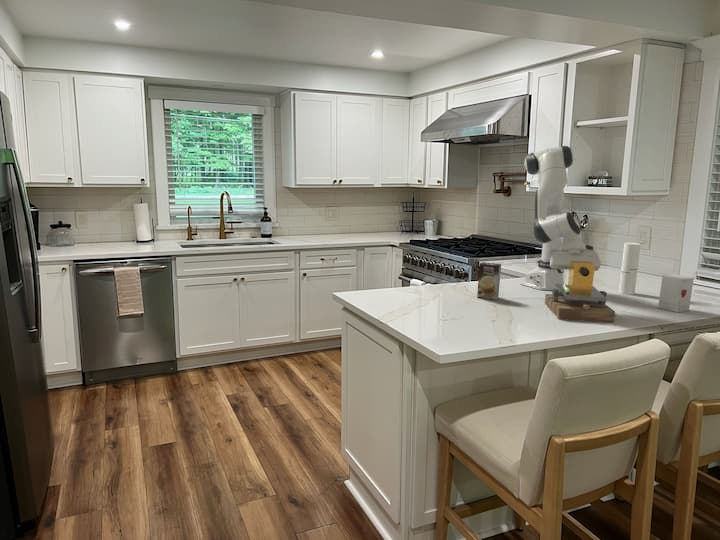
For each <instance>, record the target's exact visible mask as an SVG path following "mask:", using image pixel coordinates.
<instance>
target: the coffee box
mask: <svg viewBox="0 0 720 540" xmlns="http://www.w3.org/2000/svg"><path fill="white" fill-rule="evenodd" d="M478 267H479V268H478V281H477V282H478V283H477V293H476V298H477V297H481V298H480V299H484V298H488V299H487V300H491V299H496V300H498V299H499V293H500V292H499V291H500V283H501V273H502V272H501V271H502V264H501V263H494V262H485V261H482V262H480V263H479V266H478Z"/></svg>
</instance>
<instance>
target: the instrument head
mask: <svg viewBox="0 0 720 540" xmlns="http://www.w3.org/2000/svg"><path fill="white" fill-rule="evenodd" d="M594 270H595V264H594V263H592V262H591V261H571V264H570V272H568V280H567V281H568V282H567V283H568V284H565V283H564V284H555V286H554V287H555V289H558V290H559V293H560V295H561V296H562V297H563V298H564V299H570V300H589V301H606V302H607V296H606V297H605V296H604V295H603V294H602V293H600V290H598V289H597V288H596V287H595V286H594V285H593V284H594V277H595V271H594Z"/></svg>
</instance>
